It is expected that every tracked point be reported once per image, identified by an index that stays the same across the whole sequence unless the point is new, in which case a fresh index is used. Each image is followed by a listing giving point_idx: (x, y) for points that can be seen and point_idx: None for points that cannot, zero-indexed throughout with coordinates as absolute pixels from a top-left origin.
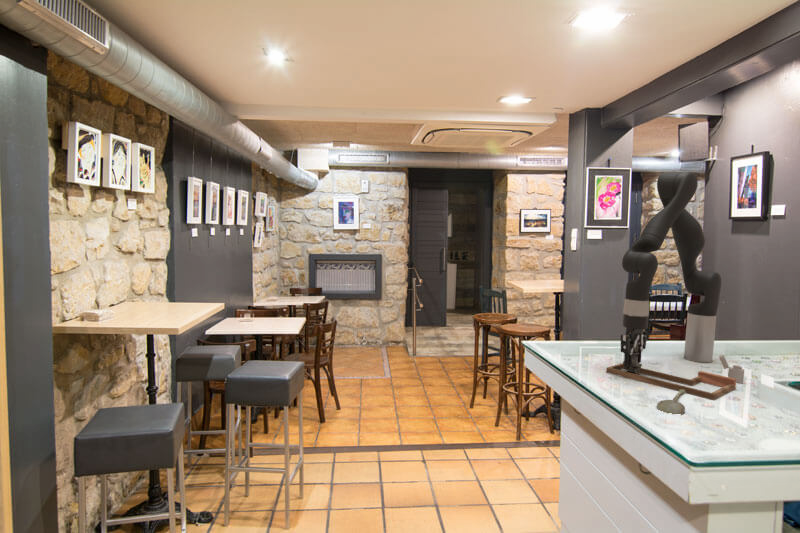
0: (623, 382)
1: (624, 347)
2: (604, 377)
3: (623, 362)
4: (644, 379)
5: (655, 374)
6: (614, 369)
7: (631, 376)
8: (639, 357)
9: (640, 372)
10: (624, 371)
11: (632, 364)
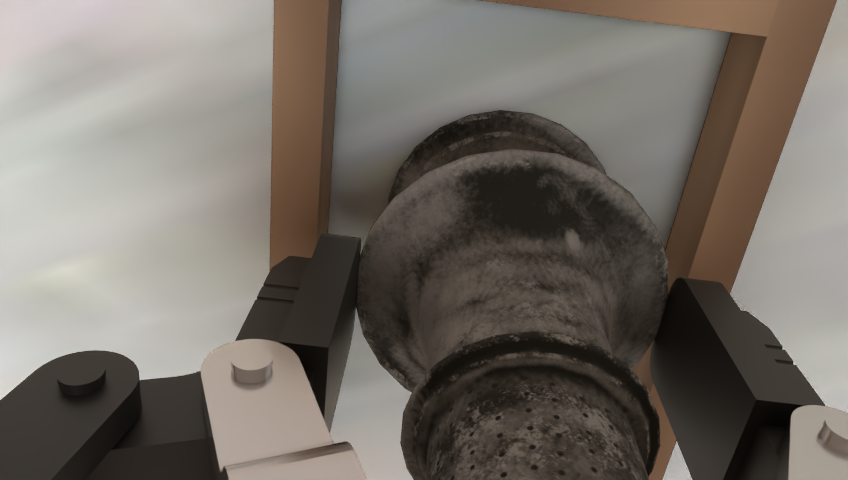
0: (49, 266)
1: (210, 447)
2: (8, 9)
3: (461, 178)
4: None
5: None
6: (281, 63)
7: None
8: (675, 425)
9: None
10: (304, 213)
11: (401, 340)
